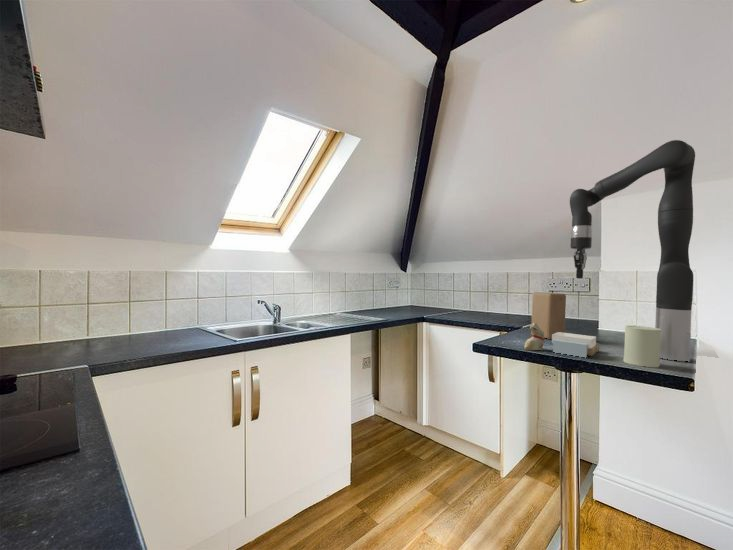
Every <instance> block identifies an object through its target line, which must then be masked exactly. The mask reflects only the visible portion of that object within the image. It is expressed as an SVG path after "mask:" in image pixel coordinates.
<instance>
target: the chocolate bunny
mask: <svg viewBox="0 0 733 550" xmlns="http://www.w3.org/2000/svg"><path fill="white" fill-rule="evenodd" d="M531 324H532V323H531ZM529 330H530V332H531V331H532V333H533V336H532V335H531V336H530V338H528V339H526V341H525V343H524V348H523V349H524V350H525V351H531V350H541V351H543V350H544V348H543V346H544V344H545V339H544V338H545V336H544V331H542V330H541V329H540V328H539V327H538V325H537V324H536V323H533V324H532V326H531V325H530V326H529ZM542 349H543V350H542Z"/></svg>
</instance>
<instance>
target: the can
mask: <svg viewBox="0 0 733 550" xmlns="http://www.w3.org/2000/svg"><path fill="white" fill-rule="evenodd" d="M660 336H661V329H658V328H655V327H651V326H641V325H625V326H624V348H623V349H624V350H623V351H624V352H623V360H622V362H624V363H626V364H629V365H632V366H638V367H643V366H646V367H645V368H660V367H661V365H660V364H661V363H660V359H661V358H660ZM659 366H660V367H659Z"/></svg>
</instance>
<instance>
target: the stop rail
mask: <svg viewBox="0 0 733 550" xmlns="http://www.w3.org/2000/svg"><path fill="white" fill-rule="evenodd" d="M587 348H588V344H583V343H576V342H569V341H562V340H553V343H552V353H553V352H555V353H554V354H556V353H561V354H560V355H563V354H567V355H566V356H569V355H573V356H572V357H575V356H579V357H578V358H581V357H585V358H584V359H587V358H588V356H587ZM586 357H587V358H586Z"/></svg>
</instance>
